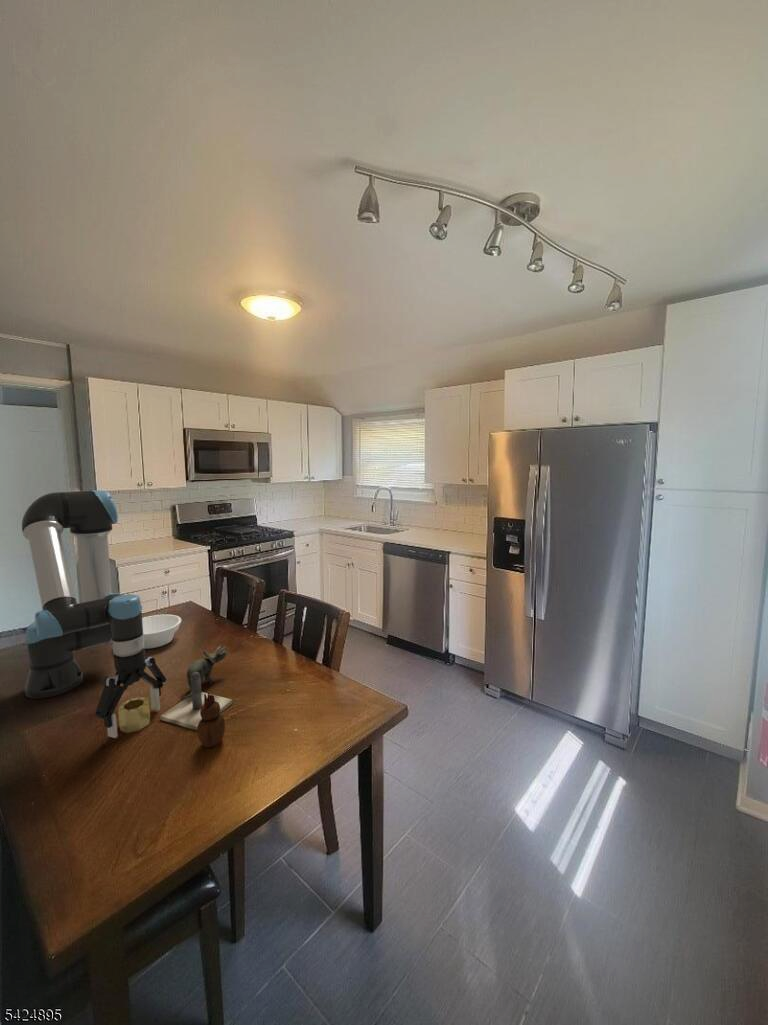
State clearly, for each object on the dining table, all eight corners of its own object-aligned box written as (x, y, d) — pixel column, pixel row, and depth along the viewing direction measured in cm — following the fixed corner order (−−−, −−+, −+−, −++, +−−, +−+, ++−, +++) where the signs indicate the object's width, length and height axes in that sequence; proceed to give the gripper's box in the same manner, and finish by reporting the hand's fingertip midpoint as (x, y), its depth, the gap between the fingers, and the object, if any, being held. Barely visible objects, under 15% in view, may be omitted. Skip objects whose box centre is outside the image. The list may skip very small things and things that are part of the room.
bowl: (166, 654, 162) (164, 634, 161) (112, 654, 162) (110, 634, 161) (191, 632, 183) (190, 614, 182) (143, 632, 183) (142, 614, 182)
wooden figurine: (207, 754, 108) (204, 700, 106) (194, 746, 111) (190, 693, 109) (230, 739, 113) (227, 687, 111) (216, 732, 116) (213, 681, 114)
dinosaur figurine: (187, 710, 127) (185, 675, 126) (163, 706, 129) (161, 671, 128) (229, 673, 148) (228, 643, 147) (208, 670, 150) (207, 641, 149)
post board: (160, 719, 122) (157, 679, 120) (197, 694, 135) (195, 657, 133) (198, 730, 117) (195, 688, 115) (232, 703, 130) (230, 665, 128)
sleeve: (114, 728, 118) (112, 708, 117) (137, 714, 125) (136, 695, 124) (133, 734, 115) (131, 714, 115) (155, 719, 122) (154, 700, 121)
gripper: (94, 674, 104) (102, 753, 107) (175, 635, 127) (180, 700, 130) (73, 669, 107) (81, 746, 109) (157, 631, 130) (162, 696, 133)
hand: (135, 721), depth 120 cm, fingers open, 13 cm apart
